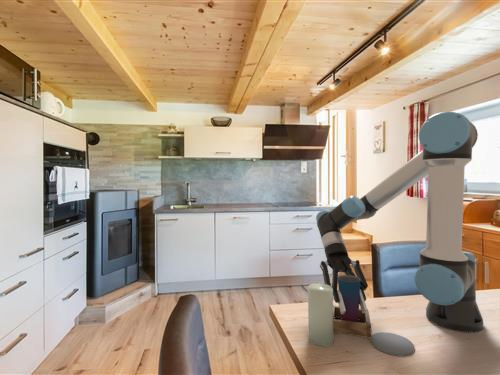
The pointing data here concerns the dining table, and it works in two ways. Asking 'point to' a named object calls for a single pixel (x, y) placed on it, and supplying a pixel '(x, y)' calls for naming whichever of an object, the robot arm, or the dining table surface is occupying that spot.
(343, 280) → the cup
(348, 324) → the wooden tray box
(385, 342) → the felt pad
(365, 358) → the dining table surface
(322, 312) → the pillar candle
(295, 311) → the dining table surface
